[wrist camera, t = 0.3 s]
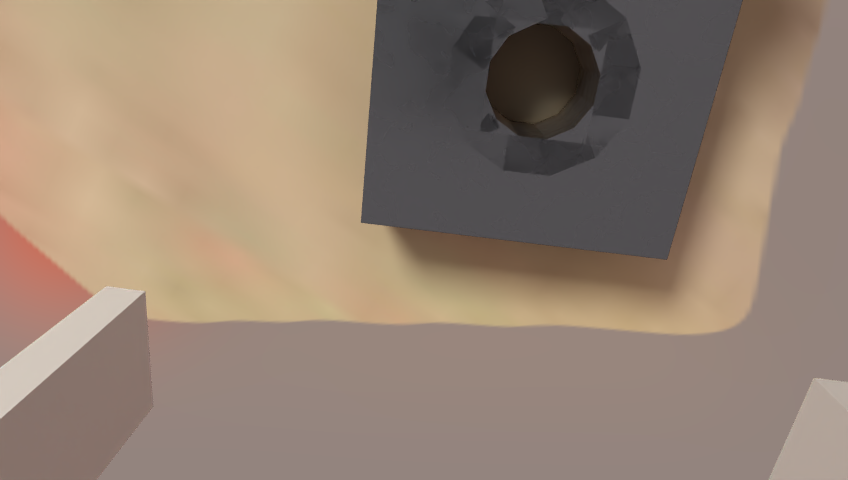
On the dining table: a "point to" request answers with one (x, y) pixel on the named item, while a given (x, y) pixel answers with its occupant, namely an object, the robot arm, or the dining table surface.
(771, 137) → the dining table surface
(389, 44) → the flange plate
